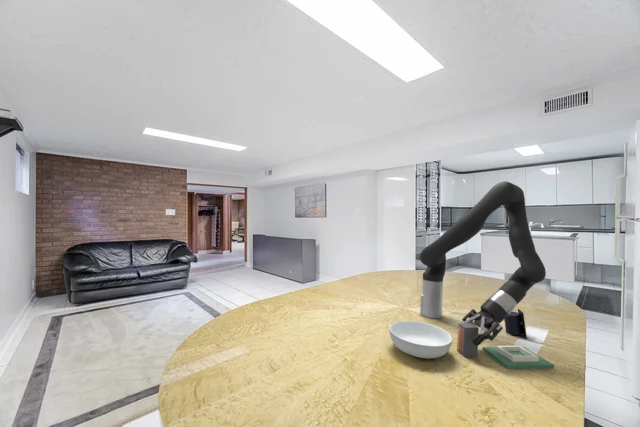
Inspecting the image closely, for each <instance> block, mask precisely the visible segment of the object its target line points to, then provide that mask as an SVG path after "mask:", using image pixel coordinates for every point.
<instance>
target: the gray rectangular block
mask: <svg viewBox="0 0 640 427" xmlns="http://www.w3.org/2000/svg"><path fill="white" fill-rule="evenodd" d="M479 328H480V327H478V326H475V325H474V324H472V323H464V322H458V323H457V343H456V344H457V345H456V351H457V352H458V353H459V354H460V355H461V356H462V357H463V358H464V357H468V358H472V357H474V358H475V357H476V358H478V356H479V345H478V346H475V345H474V344H473V343H472V340H473V339H474V338H475V337H476V336H477V335H478V334H479V331H480V330H479Z"/></svg>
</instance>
